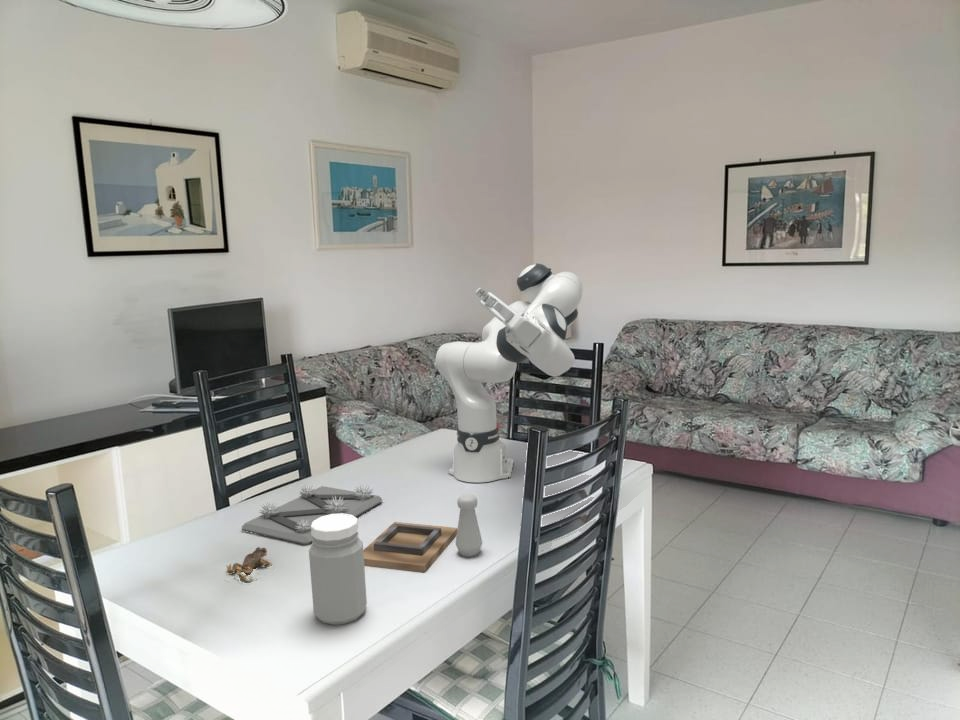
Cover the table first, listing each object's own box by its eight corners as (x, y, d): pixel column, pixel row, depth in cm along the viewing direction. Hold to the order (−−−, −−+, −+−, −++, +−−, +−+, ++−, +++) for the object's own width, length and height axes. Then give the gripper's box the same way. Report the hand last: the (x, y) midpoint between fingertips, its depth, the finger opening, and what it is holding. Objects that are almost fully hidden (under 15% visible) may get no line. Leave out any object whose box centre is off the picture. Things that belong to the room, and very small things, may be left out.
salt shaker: (479, 559, 151) (477, 501, 149) (453, 558, 152) (451, 500, 150) (484, 548, 157) (482, 492, 155) (459, 546, 158) (457, 491, 156)
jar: (305, 625, 127) (297, 531, 124) (326, 598, 137) (319, 510, 134) (356, 629, 126) (350, 533, 123) (374, 601, 135) (368, 512, 132)
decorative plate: (322, 493, 197) (320, 468, 196) (385, 504, 187) (383, 478, 186) (239, 533, 171) (236, 505, 170) (307, 549, 161) (304, 519, 160)
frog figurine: (245, 557, 158) (244, 540, 157) (289, 564, 153) (288, 548, 153) (208, 580, 147) (206, 563, 147) (253, 589, 143) (252, 571, 142)
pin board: (394, 527, 170) (394, 515, 169) (457, 534, 165) (457, 521, 164) (355, 564, 151) (354, 551, 151) (424, 572, 146) (424, 558, 146)
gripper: (514, 307, 175) (478, 273, 168) (552, 336, 158) (513, 300, 150) (498, 326, 175) (460, 293, 168) (534, 357, 158) (494, 322, 151)
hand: (486, 296), depth 159 cm, fingers open, 8 cm apart
